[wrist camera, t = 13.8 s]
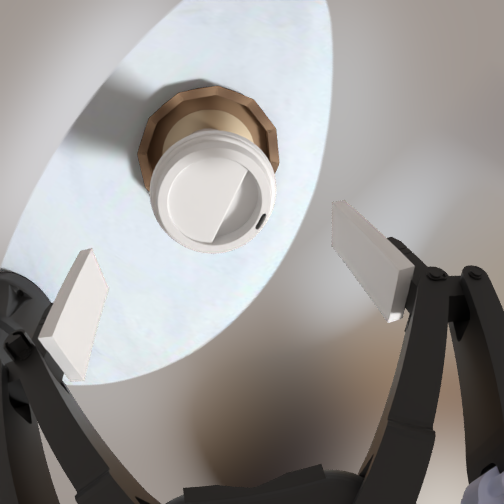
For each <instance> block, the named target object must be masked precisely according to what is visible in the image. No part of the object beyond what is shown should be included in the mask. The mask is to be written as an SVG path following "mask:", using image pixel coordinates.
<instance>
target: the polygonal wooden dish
mask: <svg viewBox="0 0 504 504" xmlns="http://www.w3.org/2000/svg"><path fill="white" fill-rule="evenodd" d="M205 128H211V129H217V130H219V131H227V132H232V133H235V134H238V135H240V136H243V137H245V138H247V139H248V140H250V141H251V142H253V143H254V144H255V145H257V146H258V147H259V148H260V149H261V150H262V151H263V153H264V154H265V155H266V157H267V158H268V160H269V162H270V163H271V166H272V168H273V171H274V174H275V172H276V170H277V168H278V166H279V154H278V143H277V133H276V128H275V127H274V125H273V124H272V123H271V121H270V120H269V119H268V117H267V116H266V115H265V113H264V112H263V111H262V109H261V108H260V107H259V105H258V104H257V103H256V102H255V100H253V99H251V98H249V97H246V96H244V95H242V94H240V93H237V92H235V91H232V90H229V89H225V88H223V87H220V86H213V87H203V88H196V89H192V90H188V91H184V92H179V93H178V94H176V95H175V96H174V97H173V98H171V99H170V100H169V101H167V102H166V103H165V104H164V105H163V106H162V107H160V108H159V109H158V110H157V111H156V112H155V113H154V114H153V115H152V116H151V117H150V118H149V119H148V122H147V125H146V128H145V131H144V134H143V137H142V140H141V143H140V146H139V149H138V154H137V155H138V159H139V163H140V168H141V172H142V176H143V180H144V184H145V188H146V189H147V190H148V191H149V192H150V182H151V177H152V174H153V171H154V169H155V167H156V165H157V163H158V161H159V160H160V158H161V157H162V155H163V154H164V153H165V152H166V151H167V150H168V149H169V148H170V147H171V146H172V145H173V144H175V143H176V142H178V141H179V140H181V139H183V138H185V137H187V136H189V135H190V134H192V133H193V132H195V131H197V130H200V129H205Z"/></svg>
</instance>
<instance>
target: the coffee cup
mask: <svg viewBox="0 0 504 504" xmlns="http://www.w3.org/2000/svg"><path fill="white" fill-rule="evenodd" d="M275 200H276V179H275V174H274V171H273V168H272V166H271V163H270V162H269V160H268V158H267V157H266V155H265V154H264V153H263V151H262V150H261V149H260V148H259V147H258V146H257V145H255V144H254V143H253V142H251V141H250V140H248V139H247V138H245V137H243V136H240V135H238V134H235V133H232V132H227V131H219V130H217V129H211V128H205V129H200V130H197V131H195V132H193V133H192V134H190V135H189V136H187V137H185V138H183V139H181V140H179V141H178V142H176V143H175V144H173V145H172V146H171V147H170V148H169V149H168V150H167V151H166V152H165V153H164V154H163V155H162V157H161V158H160V160H159V161H158V163H157V165H156V167H155V169H154V171H153V174H152V177H151V182H150V202H151V206H152V210H153V212H154V215H155V217H156V219H157V221H158V223H159V225H160V226H161V227H162V229H163V230H164V231H165V232H166V233H167V234H168V235H169V236H170V237H171V238H172V239H173V240H175V241H176V242H178V243H179V244H181V245H183V246H185V247H187V248H189V249H191V250H194V251H197V252H202V253H211V254H215V253H224V252H228V251H232V250H235V249H237V248H239V247H241V246H243V245H245V244H246V243H248V242H249V241H251V240H252V239H253V238H254V237H255V236H256V235H257V234H258V233H259V232H260V231H261V229H262V228H263V227H264V226H265V224H266V223H267V221H268V219H269V217H270V215H271V213H272V211H273V208H274V204H275Z"/></svg>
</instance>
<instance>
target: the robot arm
mask: <svg viewBox="0 0 504 504" xmlns="http://www.w3.org/2000/svg"><path fill="white" fill-rule="evenodd" d="M332 247H333V248H334V250H335V251H336V252H337V253H338V255H339V256H340V258H341V259H342V260H343V262H344V263H345V264H346V266H347V267H348V268H349V270H350V271H351V272H352V274H353V275H354V276H355V278H356V279H357V280H358V282H359V283H360V284H361V286H362V287H363V288H364V290H365V291H366V293H367V294H368V295H369V297H370V298H371V299H372V301H373V302H374V304H375V305H376V306H377V308H378V309H379V311H380V312H381V314H382V315H383V317H384V318H385V320H386V321H387V322H388V323H389V322H392V321H395V320H398V319H401V318H403V314H404V310H405V308H406V309H407V310H408V312H409V313H410V315H409V318H408V322H407V325H406V328H405V336H404V341H403V345H402V349H401V353H400V357H399V361H398V365H397V368H396V372H395V376H394V379H393V383H392V386H391V389H390V393H389V396H388V399H387V402H386V405H385V408H384V411H383V414H382V417H381V420H380V423H379V425H378V428H377V431H376V433H375V436H374V439H373V441H372V444H371V447H370V449H369V451H368V454H367V456H366V458H365V460H364V462H363V464H362V466H361V468H360V470H359V473H358V475H356V474H354V473H350V472H346V471H340V470H323V468H322V465H321V464H319V465H316V466H312V467H308V468H305V469H301V470H297V471H293V472H289V473H286V474H284V475H282V476H280V477H278V478H275V479H273V480H271V481H269V482H267V483H264V484H262V485H260V486H257V487H254V488H244V487H230V486H220V485H213V486H203V487H190V488H183V491H184V495H182V496H179V497H177V498H175V499H173V500H171V501H169V502H167V503H166V504H416V501H417V498H418V495H419V493H420V490H421V487H422V483H423V480H424V477H425V474H426V471H427V468H428V464H429V461H430V457H431V453H432V450H433V446H434V441H435V431H433V423H434V418H435V413H436V408H437V403H438V398H439V392H440V387H441V380H442V373H443V366H444V358H445V349H446V339H447V327H448V324H449V328H450V333H451V337H452V342H453V347H454V352H455V358H456V363H457V369H458V375H459V382H460V389H461V397H462V406H463V416H464V428H465V444H466V466H467V475H468V481H469V486H468V487H467V488H466V490H465V492H464V495H463V499H462V500H461V504H504V311H503V308H502V306H501V303H500V301H499V299H498V297H497V294H496V292H495V290H494V288H493V285H492V283H491V281H490V279H489V277H488V275H487V273H486V272H485V271H484V270H482V269H481V268H479V267H477V266H466V267H464V269H463V270H462V274H461V276H448V274H447V273H446V272H445V271H443V270H442V269H440V268H437V267H427V266H426V265H425V264H424V263H423V262H422V261H421V260H420V259H419V258H418V257H417V256H416V255H415V254H414V253H412V251H410V250H409V249H408V248H407V247H406V246H405V245H404V244H403V243H402V242H401V241H399V240H397V239H395V238H393V237H389V238H386V237H385V236H384V235H383V234H381V233H380V232H379V231H378V230H377V229H376V228H375V227H374V226H373V225H372V224H371V223H370V222H369V221H367V220H366V219H365V218H364V217H363V216H362V215H361V214H360V213H359V212H357V211H356V210H355V209H354V208H353V207H352V206H351V205H349V204H348V203H347V202H346V201H345V200H343V201H336V202H332ZM108 291H109V287H108V285H107V283H106V280H105V278H104V276H103V273H102V271H101V269H100V266H99V264H98V262H97V259H96V257H95V254H94V252H93V249H92V248H91V249H86V250H82V251H80V252H79V254H78V256H77V258H76V260H75V262H74V263H73V265H72V267H71V269H70V271H69V273H68V275H67V277H66V279H65V281H64V283H63V284H62V286H61V288H60V290H59V293H58V295H57V297H56V299H55V301H54V303H51V302H50V301H49V299H48V298H47V296H46V295H45V294H44V293H43V292H42V291H41V290H40V289H39V288H38V287H37V286H36V285H35V284H33V283H32V282H31V281H29V280H28V279H26V278H24V277H22V276H20V275H18V274H14V273H10V272H2V273H0V504H60V503H59V500H58V497H57V494H56V492H55V489H54V485H53V483H52V479H51V476H50V472H49V469H48V466H47V462H46V458H45V454H44V451H43V446H42V442H41V437H40V432H39V428H38V423H39V425H40V428H41V430H42V432H43V433H44V435H45V438H46V440H47V441H48V443H49V445H50V447H51V449H52V451H53V452H54V454H55V456H56V458H57V460H58V461H59V463H60V465H61V467H62V468H63V470H64V472H65V473H66V475H67V477H68V478H69V480H70V481H71V483H72V485H73V486H74V488H75V489H76V491H77V494H76V496H75V499H76V501H77V503H78V504H161V503H160V502H158V501H157V500H156V499H155V498H153V497H152V496H151V495H150V494H149V493H148V492H147V491H146V490H145V489H144V488H143V487H142V486H141V485H140V484H139V483H138V482H137V481H136V479H135V478H134V477H133V476H132V475H131V474H130V473H129V472H128V470H127V469H126V468H125V467H124V466H123V465H122V463H121V462H120V461H119V460H118V459H117V457H116V456H115V455H114V454H113V452H112V451H111V450H110V449H109V447H108V446H107V445H106V444H105V442H104V441H103V440H102V438H101V437H100V435H99V434H98V433H97V431H96V430H95V429H94V427H93V426H92V424H91V423H90V422H89V420H88V419H87V417H86V416H85V414H84V413H83V411H82V410H81V408H80V407H79V405H78V404H77V402H76V401H75V399H74V397H73V396H72V394H71V393H70V391H69V389H68V388H67V386H66V384H65V383H64V382H63V381H62V378H63V375H64V374H65V375H66V377H67V378H68V379H69V380H70V382H73V381H85V376H86V372H87V367H88V363H89V359H90V355H91V351H92V347H93V343H94V339H95V335H96V331H97V328H98V324H99V321H100V317H101V314H102V310H103V307H104V304H105V300H106V297H107V294H108ZM37 421H38V422H37Z"/></svg>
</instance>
